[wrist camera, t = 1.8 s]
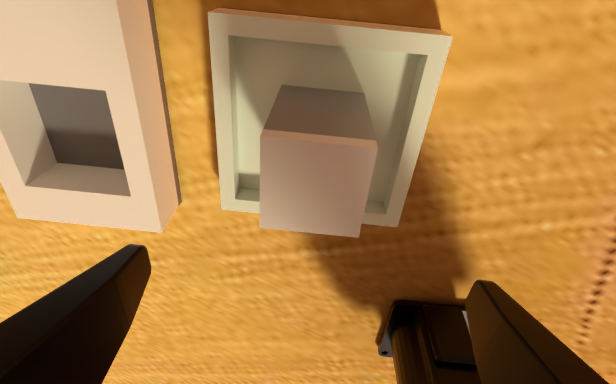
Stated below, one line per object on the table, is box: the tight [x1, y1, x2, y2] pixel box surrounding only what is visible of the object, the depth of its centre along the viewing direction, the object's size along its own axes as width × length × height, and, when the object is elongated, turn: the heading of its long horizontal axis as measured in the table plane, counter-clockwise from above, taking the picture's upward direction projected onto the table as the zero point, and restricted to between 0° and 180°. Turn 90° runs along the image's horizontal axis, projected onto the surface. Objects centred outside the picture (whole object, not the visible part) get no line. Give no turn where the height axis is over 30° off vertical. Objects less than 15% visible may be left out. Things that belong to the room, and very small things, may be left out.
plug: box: [260, 85, 378, 238], centre depth 15 cm, size 4×4×6 cm
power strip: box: [0, 0, 182, 233], centre depth 13 cm, size 20×8×6 cm, turn 175°
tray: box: [208, 8, 453, 227], centre depth 17 cm, size 10×10×2 cm
